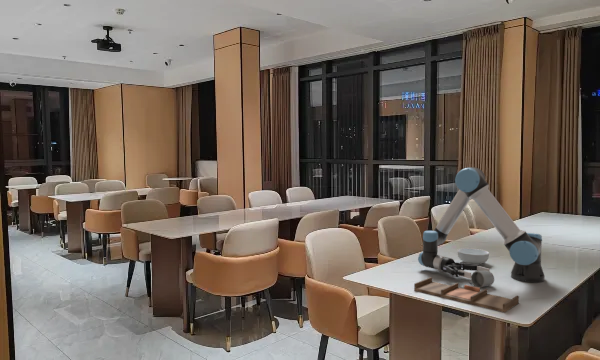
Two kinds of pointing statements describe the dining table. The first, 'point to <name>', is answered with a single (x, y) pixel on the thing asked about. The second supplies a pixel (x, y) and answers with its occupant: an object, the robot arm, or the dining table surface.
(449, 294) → the rack
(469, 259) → the cereal bowl
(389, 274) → the dining table surface
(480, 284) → the ceramic mug
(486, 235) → the dining table surface
